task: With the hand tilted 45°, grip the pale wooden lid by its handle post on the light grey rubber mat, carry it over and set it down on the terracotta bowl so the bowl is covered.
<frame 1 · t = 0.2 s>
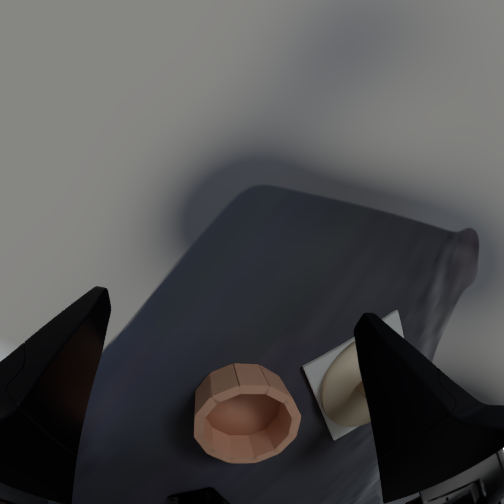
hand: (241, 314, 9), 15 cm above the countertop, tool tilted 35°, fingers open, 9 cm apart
lid: (367, 381, 26), resting on mat
mat: (365, 379, 26), on the countertop
bowl: (241, 403, 24), on the countertop
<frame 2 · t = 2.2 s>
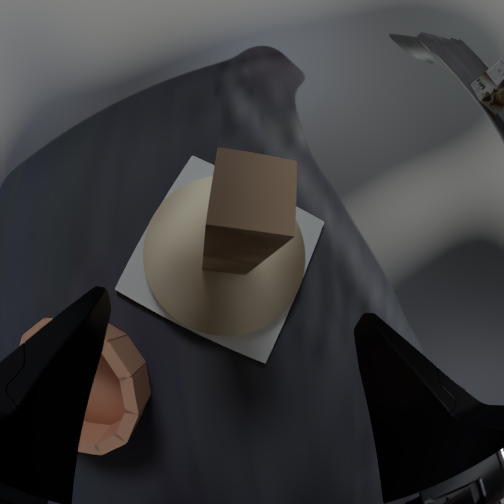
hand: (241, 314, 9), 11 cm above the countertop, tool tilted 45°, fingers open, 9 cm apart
coffee box: (482, 100, 41), on the countertop
lid: (225, 253, 20), resting on mat
mat: (224, 254, 20), on the countertop
bowl: (93, 376, 16), on the countertop
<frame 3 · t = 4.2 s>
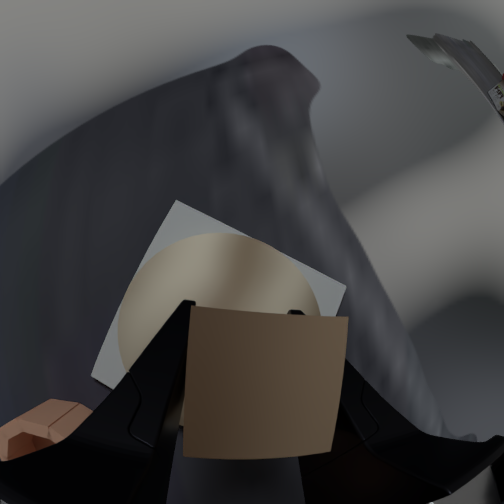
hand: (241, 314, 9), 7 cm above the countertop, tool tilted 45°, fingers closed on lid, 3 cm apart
coffee box: (500, 109, 36), on the countertop
lid: (221, 336, 15), resting on mat, touching gripper
mat: (220, 336, 15), on the countertop
bowl: (81, 457, 11), on the countertop
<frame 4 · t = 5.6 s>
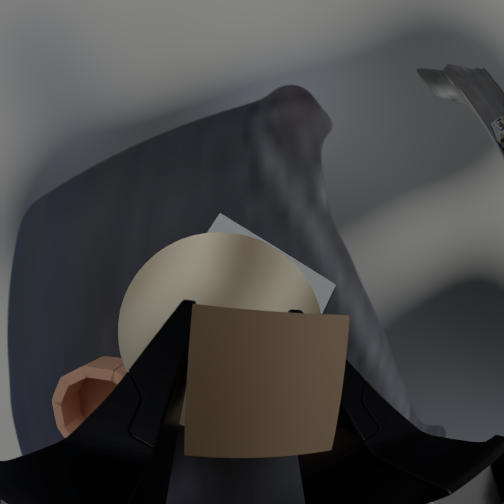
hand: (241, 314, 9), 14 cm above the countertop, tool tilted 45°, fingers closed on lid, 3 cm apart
coffee box: (500, 140, 42), on the countertop
lid: (221, 336, 15), point 7 cm above the countertop, touching gripper
mat: (244, 311, 22), on the countertop
bowl: (120, 406, 18), on the countertop
when the fingers open (12 cm above the countertop, at t = 7.0 s): lid stays where it is, resting on bowl.
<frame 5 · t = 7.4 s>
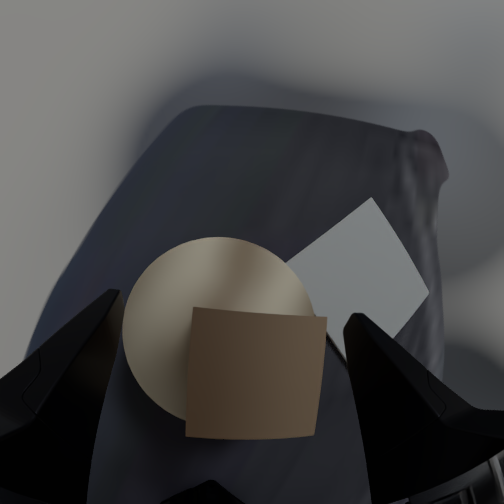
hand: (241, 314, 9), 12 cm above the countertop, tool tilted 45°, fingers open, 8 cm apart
lid: (220, 335, 16), point 4 cm above the countertop, touching bowl
mat: (366, 282, 23), on the countertop
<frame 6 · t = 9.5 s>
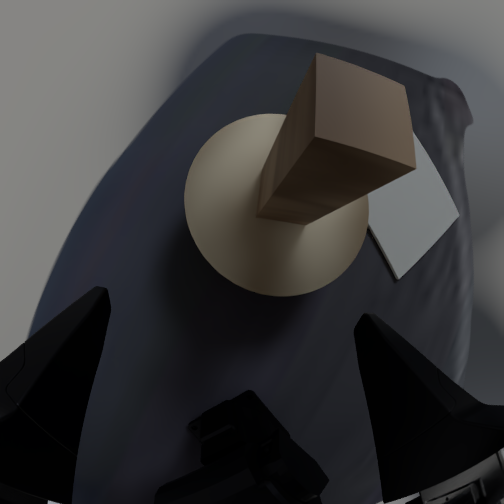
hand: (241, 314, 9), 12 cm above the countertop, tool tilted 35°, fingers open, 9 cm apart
lid: (281, 200, 17), point 4 cm above the countertop, touching bowl
mat: (404, 191, 23), on the countertop
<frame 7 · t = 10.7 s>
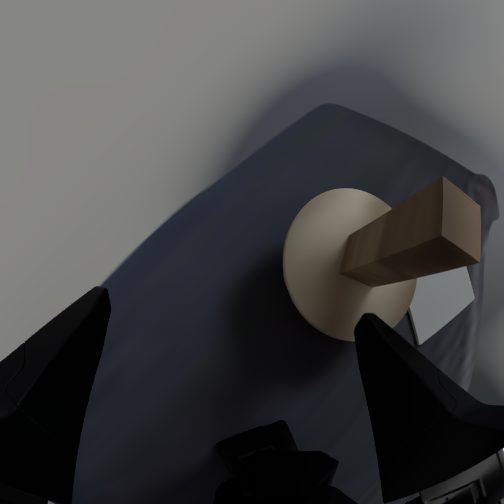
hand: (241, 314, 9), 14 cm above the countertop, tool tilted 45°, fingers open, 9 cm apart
lid: (355, 263, 20), point 4 cm above the countertop, touching bowl
mat: (436, 273, 26), on the countertop
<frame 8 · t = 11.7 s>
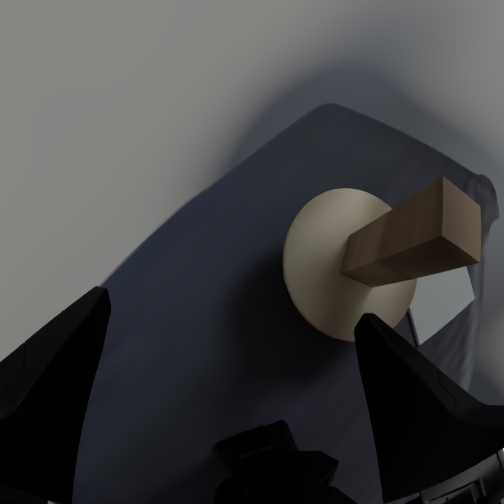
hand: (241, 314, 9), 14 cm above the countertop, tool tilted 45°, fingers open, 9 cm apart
lid: (356, 263, 20), point 4 cm above the countertop, touching bowl
mat: (436, 273, 26), on the countertop
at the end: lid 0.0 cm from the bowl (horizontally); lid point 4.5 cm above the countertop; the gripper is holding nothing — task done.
